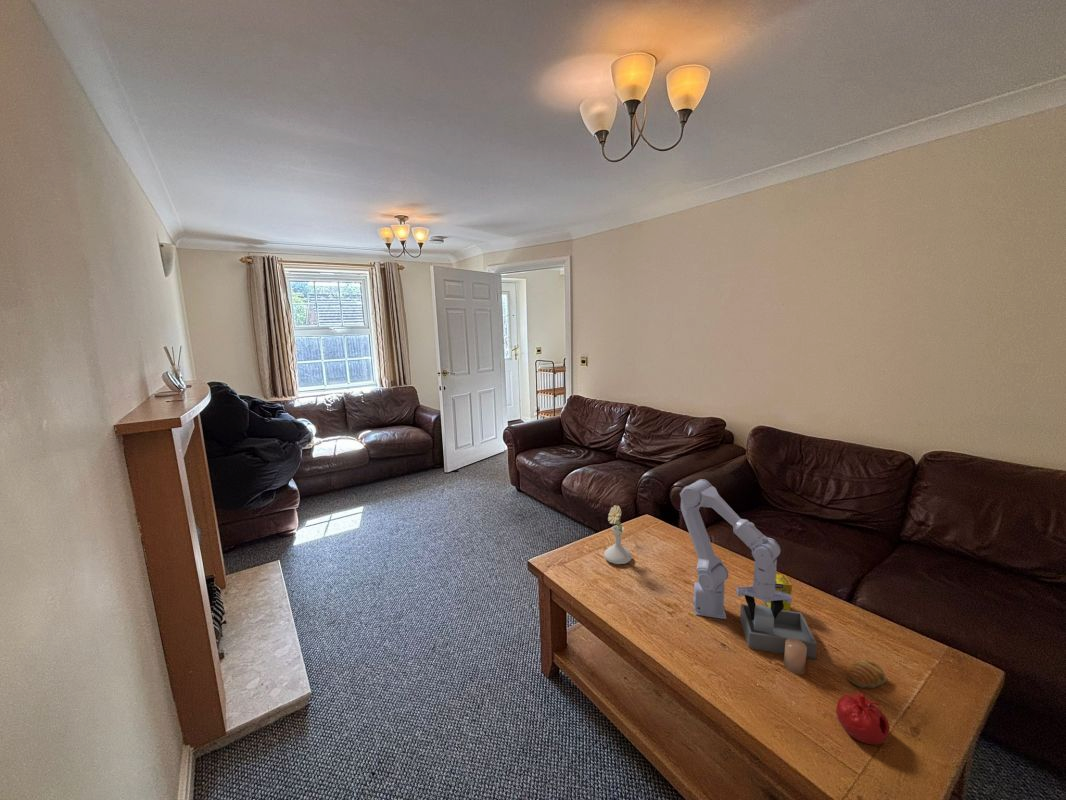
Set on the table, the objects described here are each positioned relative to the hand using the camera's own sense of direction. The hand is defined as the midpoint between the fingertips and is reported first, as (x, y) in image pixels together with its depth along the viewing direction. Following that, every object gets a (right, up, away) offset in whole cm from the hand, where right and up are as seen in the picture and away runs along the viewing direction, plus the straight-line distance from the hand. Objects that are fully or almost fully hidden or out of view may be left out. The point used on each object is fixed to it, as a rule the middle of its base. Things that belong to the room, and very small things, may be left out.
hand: (761, 619), depth 125 cm
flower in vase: (-35, +1, +44) cm, 56 cm away
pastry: (+19, -8, -15) cm, 26 cm away
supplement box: (+12, -3, +12) cm, 18 cm away
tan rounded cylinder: (+3, -7, -11) cm, 14 cm away
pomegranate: (+7, -11, -29) cm, 32 cm away
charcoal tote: (+4, -5, 0) cm, 7 cm away
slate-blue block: (0, -2, 0) cm, 2 cm away
